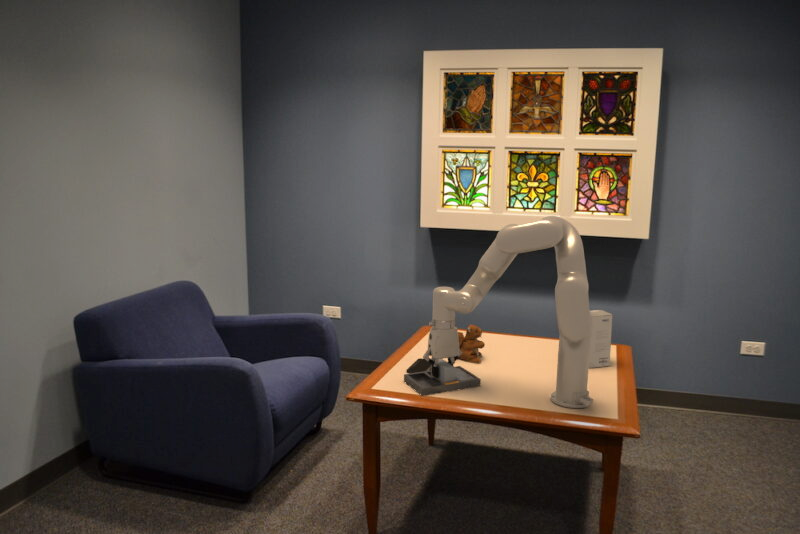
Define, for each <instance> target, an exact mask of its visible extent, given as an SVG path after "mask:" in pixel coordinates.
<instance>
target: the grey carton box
mask: <svg viewBox="0 0 800 534" xmlns="http://www.w3.org/2000/svg"><path fill="white" fill-rule="evenodd" d="M590 312H591V315H592V331H591V344H590V356H589V369H593V368H603V367H604V368H605V367H610V365H611V351H612V350H611V347H612V335H613V333H612V331H613V318H614V315H613V314H612V313H610V312H607V311H605V310H603V309H597V310H596V309H595V310H590Z"/></svg>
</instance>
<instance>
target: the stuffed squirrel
mask: <svg viewBox="0 0 800 534" xmlns="http://www.w3.org/2000/svg"><path fill="white" fill-rule="evenodd" d="M482 334H483V331H482V329H481V328H480V327H479V326H477V325H476V324H475V325H474V324H470V323H469V324H468V327H467V328H466V332H465V336H464V332H461V331H458V337H459V348H460V350H461V351H462V354H461V355H460V356H459V357H458V359H457V360H461V359H462V360H463V361H465V362H468V363H472V364H480V363H482V359H481V358H480V357H481V356H482V355H483V354H482V352H480V351H479V349H483V348H484V347H485V345H486V344H485V342H484V341H483V340H479V338H482ZM479 356H480V357H479Z"/></svg>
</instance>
